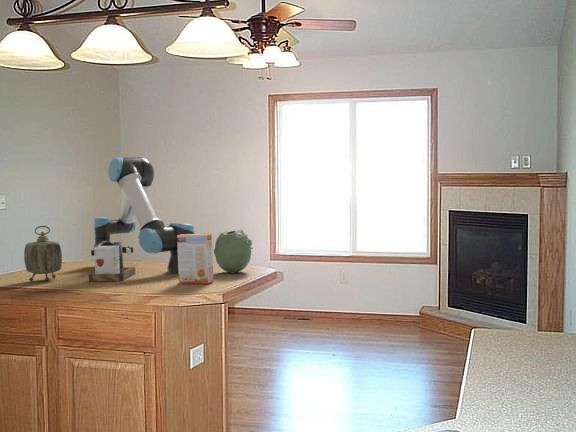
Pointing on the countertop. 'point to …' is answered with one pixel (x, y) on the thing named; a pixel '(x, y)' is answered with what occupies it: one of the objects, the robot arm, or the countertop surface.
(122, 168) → the robot arm
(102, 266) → the supplement box
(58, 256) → the tabletop clock
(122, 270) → the wooden tray
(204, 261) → the cracker box
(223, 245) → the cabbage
